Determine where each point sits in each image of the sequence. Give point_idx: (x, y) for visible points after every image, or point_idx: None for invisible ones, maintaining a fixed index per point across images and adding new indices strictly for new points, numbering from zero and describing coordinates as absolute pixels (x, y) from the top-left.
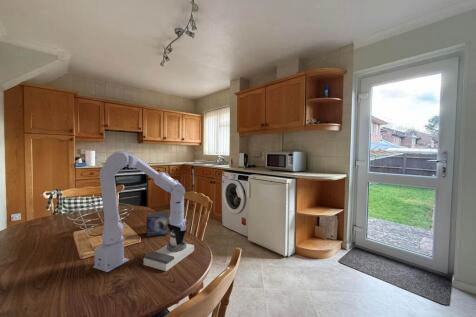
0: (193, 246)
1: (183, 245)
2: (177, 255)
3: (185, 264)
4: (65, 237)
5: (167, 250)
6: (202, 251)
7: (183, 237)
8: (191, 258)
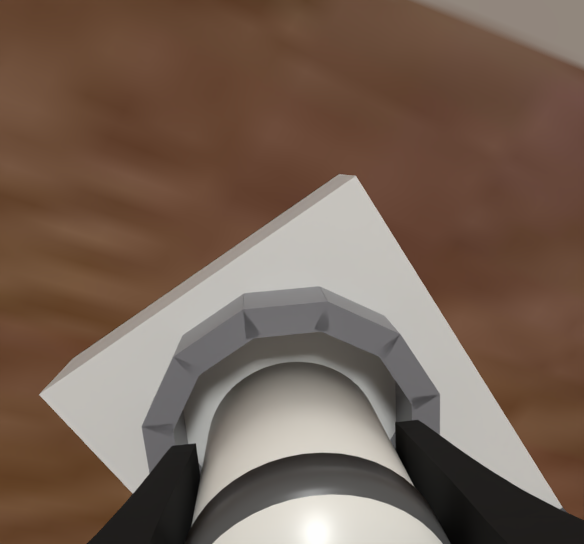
0: (361, 189)
1: (400, 375)
2: (510, 460)
3: (571, 365)
4: None
5: None
6: (419, 78)
7: (504, 479)
8: (499, 272)
